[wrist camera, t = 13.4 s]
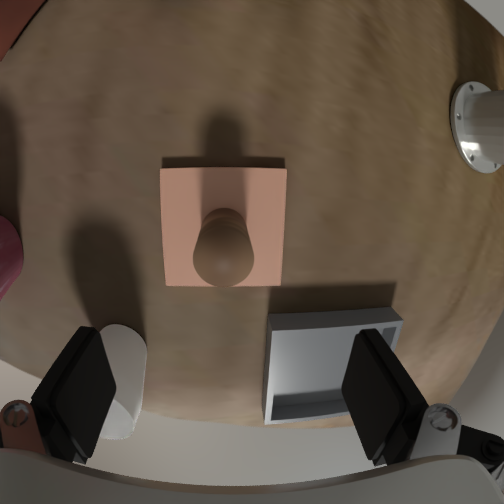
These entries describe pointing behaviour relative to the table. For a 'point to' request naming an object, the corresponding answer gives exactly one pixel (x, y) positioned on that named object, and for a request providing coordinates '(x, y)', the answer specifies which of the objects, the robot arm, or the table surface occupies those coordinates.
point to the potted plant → (15, 20)
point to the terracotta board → (222, 196)
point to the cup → (124, 379)
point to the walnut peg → (223, 249)
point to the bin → (315, 360)
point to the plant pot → (9, 255)
